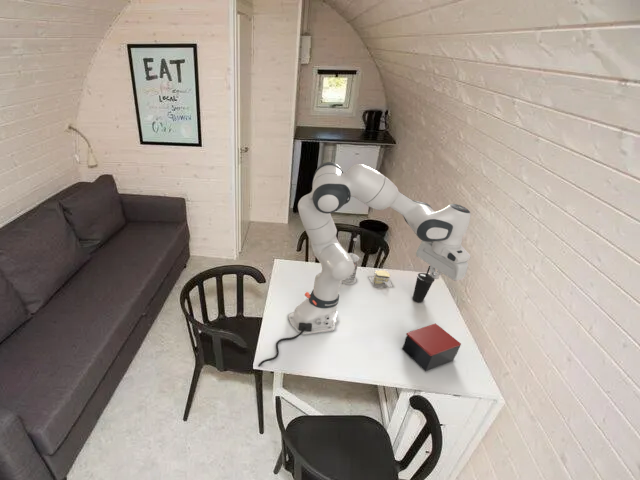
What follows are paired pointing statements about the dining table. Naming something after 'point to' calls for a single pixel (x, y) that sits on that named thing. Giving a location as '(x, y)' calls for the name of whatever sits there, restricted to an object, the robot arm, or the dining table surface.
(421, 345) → the red box lid
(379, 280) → the stacked layers on plate
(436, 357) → the black hinged box
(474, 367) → the dining table surface
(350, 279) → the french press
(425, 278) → the drinking cup
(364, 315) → the dining table surface
